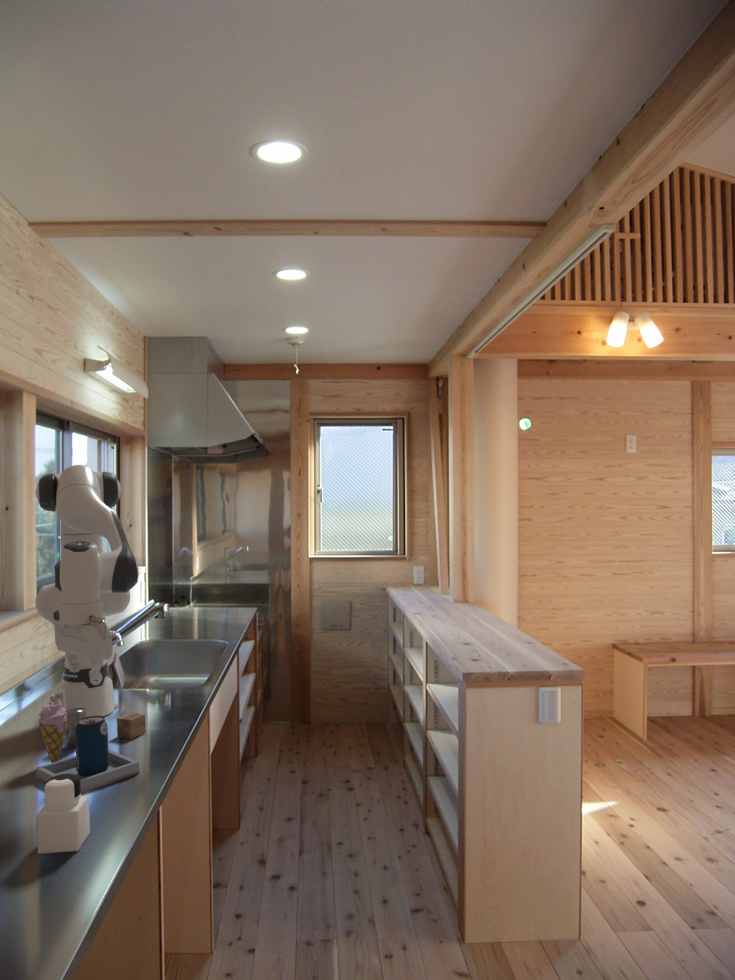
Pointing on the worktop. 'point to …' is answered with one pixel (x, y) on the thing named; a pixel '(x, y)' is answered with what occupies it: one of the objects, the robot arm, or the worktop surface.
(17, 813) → the worktop surface
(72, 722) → the dark metal canister
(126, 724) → the walnut block
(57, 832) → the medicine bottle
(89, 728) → the soda can
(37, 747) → the worktop surface
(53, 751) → the ice cream cone
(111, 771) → the slate tray
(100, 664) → the robot arm
